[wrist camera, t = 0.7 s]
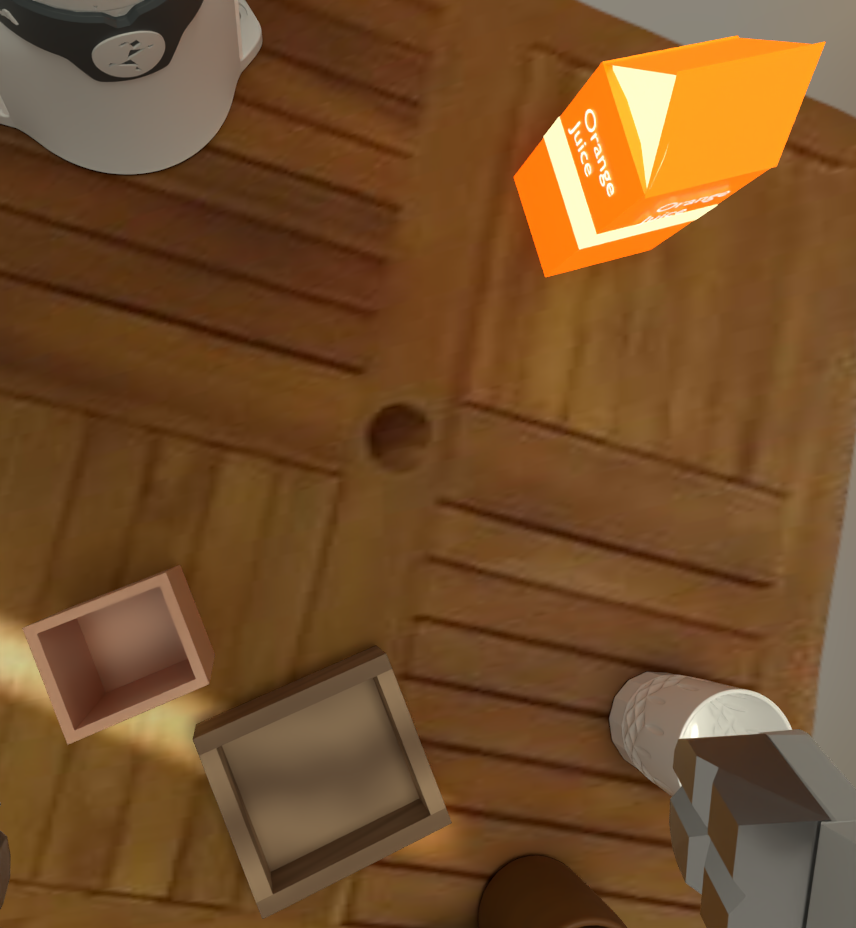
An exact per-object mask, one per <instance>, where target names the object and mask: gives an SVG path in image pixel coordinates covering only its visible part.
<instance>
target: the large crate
mask: <svg viewBox="0 0 856 928" xmlns="http://www.w3.org/2000/svg"><path fill="white" fill-rule="evenodd" d="M193 742H194V744H195V747H196V749H197V752H198V754H199V757H200V760H201V762H202V765H203V767H204V770H205V772H206V775H207V778H208V780H209V783H210V785H211V788H212V790H213V793H214V796H215V798H216V801H217V803H218V806H219V808H220V811H221V814H222V816H223V819H224V821H225V824H226V827H227V829H228V832H229V834H230V837H231V839H232V842H233V845H234V847H235V850H236V852H237V855H238V857H239V860H240V863H241V865H242V868H243V870H244V873H245V875H246V878H247V881H248V883H249V886H250V888H251V891H252V893H253V896H254V899H255V901H256V904H257V906H258V909H259V911H260V914H261V917H262V919H264V918H266V917H268V916H270V915H272V914H274V913H276V912H278V911H280V910H282V909H284V908H286V907H288V906H290V905H292V904H294V903H296V902H298V901H300V900H302V899H303V898H305V897H307V896H309V895H311V894H313V893H315V892H317V891H319V890H321V889H323V888H325V887H327V886H329V885H331V884H333V883H335V882H337V881H339V880H341V879H343V878H345V877H347V876H349V875H351V874H353V873H355V872H357V871H359V870H361V869H362V868H364V867H366V866H368V865H370V864H372V863H374V862H376V861H378V860H380V859H382V858H384V857H386V856H388V855H390V854H392V853H394V852H396V851H398V850H400V849H402V848H404V847H406V846H408V845H410V844H412V843H414V842H416V841H418V840H420V839H421V838H423V837H425V836H427V835H429V834H431V833H433V832H435V831H437V830H439V829H441V828H443V827H445V826H447V825H449V824H451V823H452V822H451V820H450V817H449V815H448V812H447V809H446V807H445V804H444V802H443V799H442V796H441V794H440V791H439V789H438V786H437V784H436V781H435V778H434V776H433V773H432V771H431V768H430V765H429V763H428V760H427V758H426V755H425V753H424V750H423V747H422V745H421V742H420V740H419V737H418V735H417V732H416V729H415V727H414V724H413V722H412V719H411V716H410V714H409V711H408V709H407V706H406V704H405V701H404V698H403V696H402V693H401V691H400V688H399V685H398V683H397V680H396V678H395V675H394V673H393V670H392V667H391V665H390V662H389V660H388V657H387V655H386V653H385V652H384V651H382V650H381V649H380V648H379V647H378V646H374V647H372V648H369V649H367V650H365V651H363V652H360V653H358V654H356V655H353V656H351V657H349V658H347V659H344V660H342V661H340V662H338V663H335V664H333V665H331V666H328V667H326V668H324V669H322V670H319V671H317V672H315V673H313V674H310V675H308V676H306V677H303V678H301V679H299V680H297V681H294V682H292V683H290V684H288V685H285V686H283V687H281V688H278V689H276V690H274V691H272V692H269V693H267V694H265V695H263V696H260V697H258V698H256V699H253V700H251V701H249V702H247V703H244V704H242V705H240V706H238V707H235V708H233V709H231V710H228V711H226V712H224V713H222V714H219V715H217V716H215V717H212V718H210V719H208V720H206V721H203V722H201V723H199V724H197V725H196V727H195V732H194V736H193Z"/></svg>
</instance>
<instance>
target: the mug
mask: <svg viewBox="0 0 856 928" xmlns="http://www.w3.org/2000/svg"><path fill="white" fill-rule="evenodd" d="M478 925H479V928H627V927H626V925H625V924H624V923H623V922H622V920H621V919H620V918H619V917H618V916H617V915H616V914H615V913H614V912H613V911H612V910H611V909H610V908H609V907H608V906H607V904H606V903H605V902H604V901H603V900H602V899H601V898H600V897H599V896H598V895H597V894H596V893H595V892H594V891H593V890H592V889H591V888H589V887H588V886H587V885H586V884H585V883H584V882H583V881H582V880H581V879H580V878H579V877H578V876H577V875H576V874H575V873H574V872H573V871H572V870H571V869H570V868H568V867H567V866H566V865H564V864H563V863H561V862H559V861H557V860H555V859H553V858H549V857H546V856H526V857H522V858H519V859H517V860H514V861H512V862H511V863H509V864H507V865H506V866H504V867H503V868H502V869H501V870H500V871H499V872H498V873H497V874H496V875H495V876H494V877H493V878H492V880H491V881H490V882H489V884H488V886H487V887H486V889H485V892H484V894H483V896H482V899H481V902H480V907H479V915H478Z"/></svg>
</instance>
